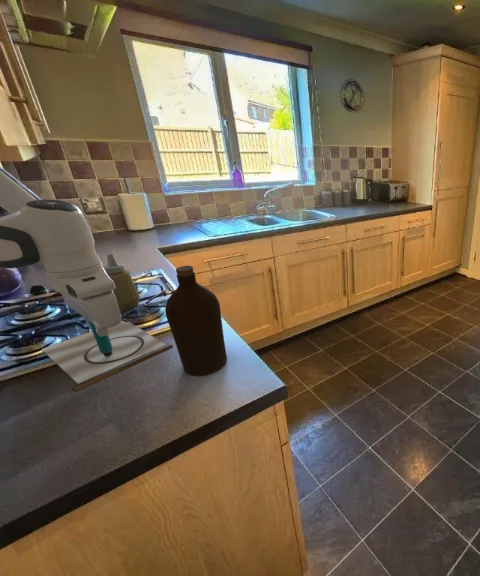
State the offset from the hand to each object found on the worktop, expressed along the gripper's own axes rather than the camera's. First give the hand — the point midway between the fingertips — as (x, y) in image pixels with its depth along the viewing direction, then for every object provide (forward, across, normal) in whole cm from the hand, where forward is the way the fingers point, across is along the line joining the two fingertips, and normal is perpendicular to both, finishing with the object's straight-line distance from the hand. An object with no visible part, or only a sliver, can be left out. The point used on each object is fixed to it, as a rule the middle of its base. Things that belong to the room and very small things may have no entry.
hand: (99, 332), depth 76 cm
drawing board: (+8, -5, +1) cm, 9 cm away
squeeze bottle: (+8, -25, +14) cm, 30 cm away
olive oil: (+8, +20, +12) cm, 25 cm away
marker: (+6, 0, 0) cm, 6 cm away
